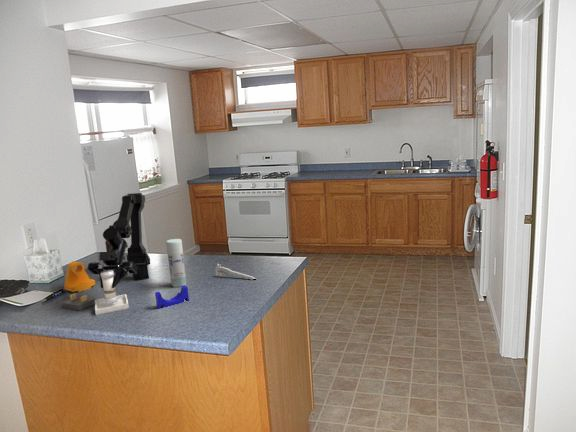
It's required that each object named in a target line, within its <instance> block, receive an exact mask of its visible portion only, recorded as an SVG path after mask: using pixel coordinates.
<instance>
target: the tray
mask: <svg viewBox="0 0 576 432" xmlns="http://www.w3.org/2000/svg"><path fill="white" fill-rule="evenodd" d="M117 298H118V301H117V302H114V303H110V304H107V303H105V300H104V297H103V298H98V299H97V298H96V300H95V304H94V311H95V315H96V316H99V315H104V314H108V313H110V314H111V313H114V312H121V311H124V310H129V309H130V306H129V301H128V295H127V294H126V293H125V294H120V295H117Z"/></svg>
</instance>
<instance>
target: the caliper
mask: <svg viewBox="0 0 576 432" xmlns="http://www.w3.org/2000/svg"><path fill="white" fill-rule="evenodd" d="M221 265H222V264H219V263H217V264H216V266H215V269H214V271H215V277H216V276H217V277H219V278H221V277H223V274H224V275H227V276H229V275H231V276H235V277H239V278H243V279H245V280H248V279H256V278H255V277H254V276H251V275H248V274H245V273H242V272H238V271H236V270H231V269H230V268H227V267H224V266H221Z"/></svg>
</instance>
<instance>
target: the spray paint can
mask: <svg viewBox="0 0 576 432" xmlns="http://www.w3.org/2000/svg"><path fill="white" fill-rule="evenodd" d="M165 244H166V252H167V259H168V268H169V274H170V283H171V287H172V286H173V287H172V288H181V286H184V285H185V286H186V285H187V276H186V269H185V260H184V259H185V258H184V249H183V241H182V239H181V238H171V239H168V240H166V241H165Z"/></svg>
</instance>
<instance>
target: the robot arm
mask: <svg viewBox="0 0 576 432" xmlns="http://www.w3.org/2000/svg"><path fill="white" fill-rule="evenodd" d="M121 197H122V198H121V205H120V210H119V214H118V217H117V219H116V220H115V221H114V222H113V224H112V225H109V226H108V227H107V228H106V229H105V230H104V231H103V232H102V238H103V239H104V240H105V242H106V241H107V243H108V244H109V245H110V246H111V248H110V251H108V252H107V251H100V252H99V257H98V258H99V259H98V261H97V262H96V261H95V262H94V261H93V262H89V263H88V264H87V270H88V271H89V272H91V274H93V275H98V276H99V280H100V281H99V283H100V288H101V289H104V288H103V282H102V278H101V274H100V273H101V272H103V271H106V270H115V272H114V276H113V277H114V280H113V283H112V288H115V289H116V287H117V285H119V283H120V282H121V281H122V280H123V279H124V278H125V277H127V276H129V274H131V275H132V279H134V281H141V280H144V279H145V280H146V279H150V276H149V270H148V266H149V265H151V257H150V256H149V255H148V253H147V249H146V247H145V246H144V244H143V235H142V234H143V233H142V212H143V209H144V208H145V203H146V196H145V194H143V193H142V192H137V193H136V192H134V193H127V194H126V195H123V196H121ZM129 238H130V239H131V240H130V243H131V244H130V246H129V244H128V242H127V241H126V240H125V239H129ZM126 249H127V250H126ZM126 251H127V255H126V256H125V253H126ZM125 260H127V261H125ZM99 261H102V263H103V264H101V263H100V262H99ZM122 261H123V264H122ZM104 264H105V265H104Z"/></svg>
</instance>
